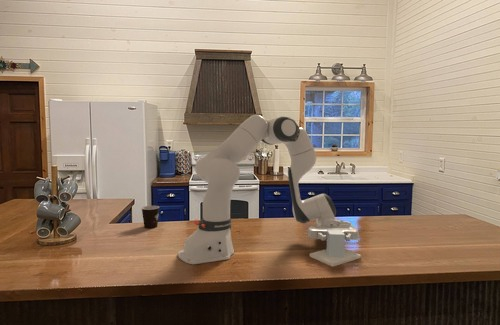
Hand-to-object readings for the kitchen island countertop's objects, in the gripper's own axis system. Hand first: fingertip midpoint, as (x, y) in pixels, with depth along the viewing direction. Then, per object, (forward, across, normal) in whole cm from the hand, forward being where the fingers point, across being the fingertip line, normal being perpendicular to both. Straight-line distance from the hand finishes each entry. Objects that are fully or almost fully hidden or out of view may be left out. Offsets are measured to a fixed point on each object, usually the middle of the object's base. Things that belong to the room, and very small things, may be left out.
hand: (336, 239), depth 133 cm
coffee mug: (-37, -86, +8) cm, 93 cm away
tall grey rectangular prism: (-1, 0, +6) cm, 7 cm away
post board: (-1, 0, +8) cm, 8 cm away
